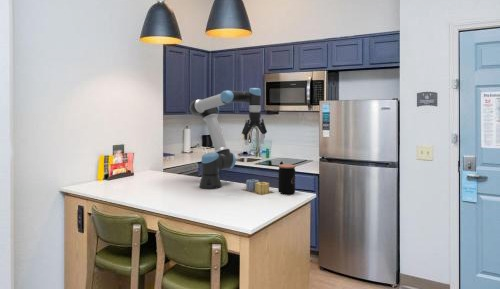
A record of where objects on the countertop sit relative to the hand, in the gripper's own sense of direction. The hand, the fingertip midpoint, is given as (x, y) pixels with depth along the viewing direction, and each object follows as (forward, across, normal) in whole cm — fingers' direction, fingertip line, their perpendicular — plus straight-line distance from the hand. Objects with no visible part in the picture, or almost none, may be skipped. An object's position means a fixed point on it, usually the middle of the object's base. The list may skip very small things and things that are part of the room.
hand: (254, 144), depth 241 cm
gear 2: (+30, -3, -11) cm, 32 cm away
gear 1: (+30, -3, -2) cm, 30 cm away
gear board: (+31, -3, -6) cm, 32 cm away
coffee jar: (+31, +10, -20) cm, 38 cm away
